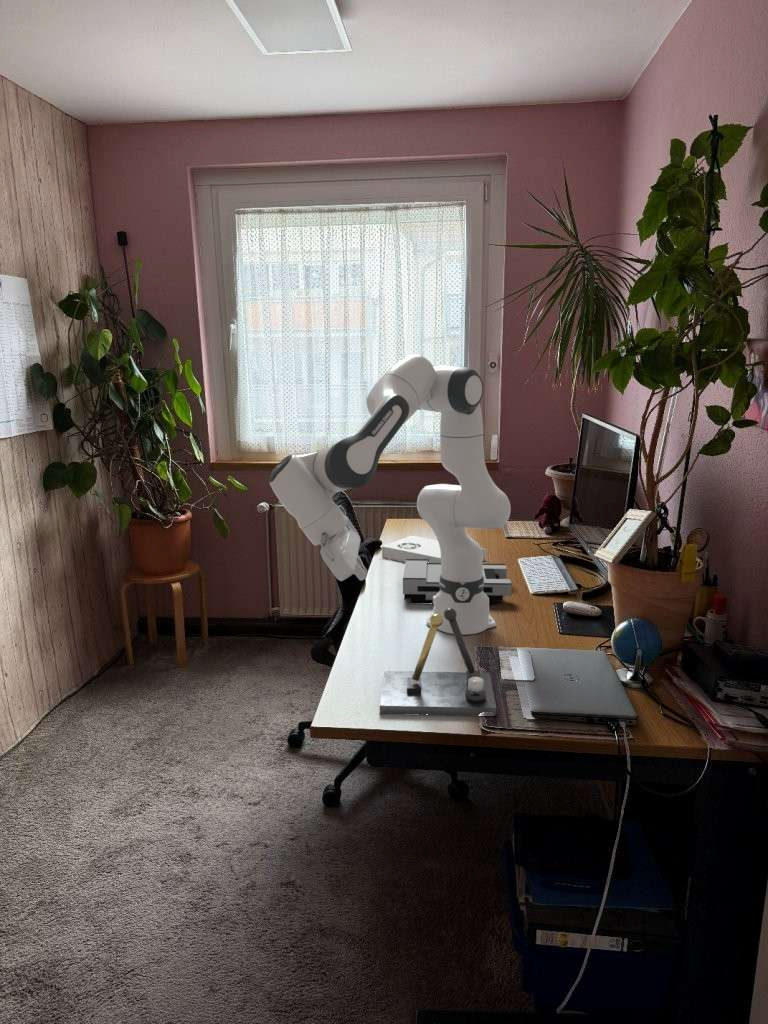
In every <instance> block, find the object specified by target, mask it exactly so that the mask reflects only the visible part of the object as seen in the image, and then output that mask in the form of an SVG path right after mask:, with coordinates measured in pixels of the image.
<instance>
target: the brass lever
mask: <svg viewBox="0 0 768 1024" xmlns="http://www.w3.org/2000/svg"><path fill="white" fill-rule="evenodd" d="M430 623H431V626H429V629H428V632H427V634H426V638H425V640H424V643H423V645H422V649H421V651H420V654H419V658H418V660H417V663H416V666H415V668H414V671H413V672H414V674H413V677H412V679H413V680H415V681H419V679H420V676H421V674H422V672H424V671H423V670H424V668H425V665H426V662H427V659H428V656H429V653H430V651H431V648H432V645H433V643H434V640H435V637H436V635H437V630H439V629H438V627H439V626H441V625H442V623H443V618H442V616H441V615H440V614H433V615H432V616H431V617H430Z"/></svg>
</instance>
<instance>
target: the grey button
mask: <svg viewBox="0 0 768 1024" xmlns="http://www.w3.org/2000/svg"><path fill="white" fill-rule="evenodd" d="M483 683H484V680H483V679H482V678H480V677H471V678H469V679H468V689H469V690H470V691H474V692H479V691H482V690H483Z"/></svg>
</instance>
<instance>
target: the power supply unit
mask: <svg viewBox="0 0 768 1024" xmlns="http://www.w3.org/2000/svg"><path fill="white" fill-rule="evenodd" d="M481 549H482V552H483V562H486V554H487V553H486V552H487V551H486V549H485V548H482V547H481ZM382 557H386V558H385V559H387V558H390V559H389V560H391V559H394V560H393V561H396V560H397V562H401V561H402V562H401V563H405V562H406V559H427V563H428V562H429V563H441V551H440V546H439V542H438V540H437V539H433V538H426V537H422V536H417V535H409V536H407V537H404V538H400V539H398V540H395V541H392V542H389V543H386V544H383V545H382V546H381V558H382Z"/></svg>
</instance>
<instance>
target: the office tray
mask: <svg viewBox="0 0 768 1024" xmlns="http://www.w3.org/2000/svg"><path fill="white" fill-rule="evenodd" d="M403 569H404V571H403V576H402V594H403V595H404V596H403V597H404V598H403V599H404V600H410V604H411V603H432V604H431V605H434V603H433V596H436V594H437V593H438V592H439V591H440V588H439V586H440V584H439V579H440V575H441V563H427V559H406V562H404V568H403ZM507 569H508V568H507V566H506V563H483V564H482V575H483V577H484V590H483V592H484V593H485V594H486V595H487V597H489V606H495V601H502V602H503V597H504V596H509V597H511V596H512V594H513V593H512V592H513V591H512V590H513V589H512V588H513V587H512V586H513V585H512V581H511V579H510V578H509V579H508V578H507V576H508V574H507V572H508V571H507Z"/></svg>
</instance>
